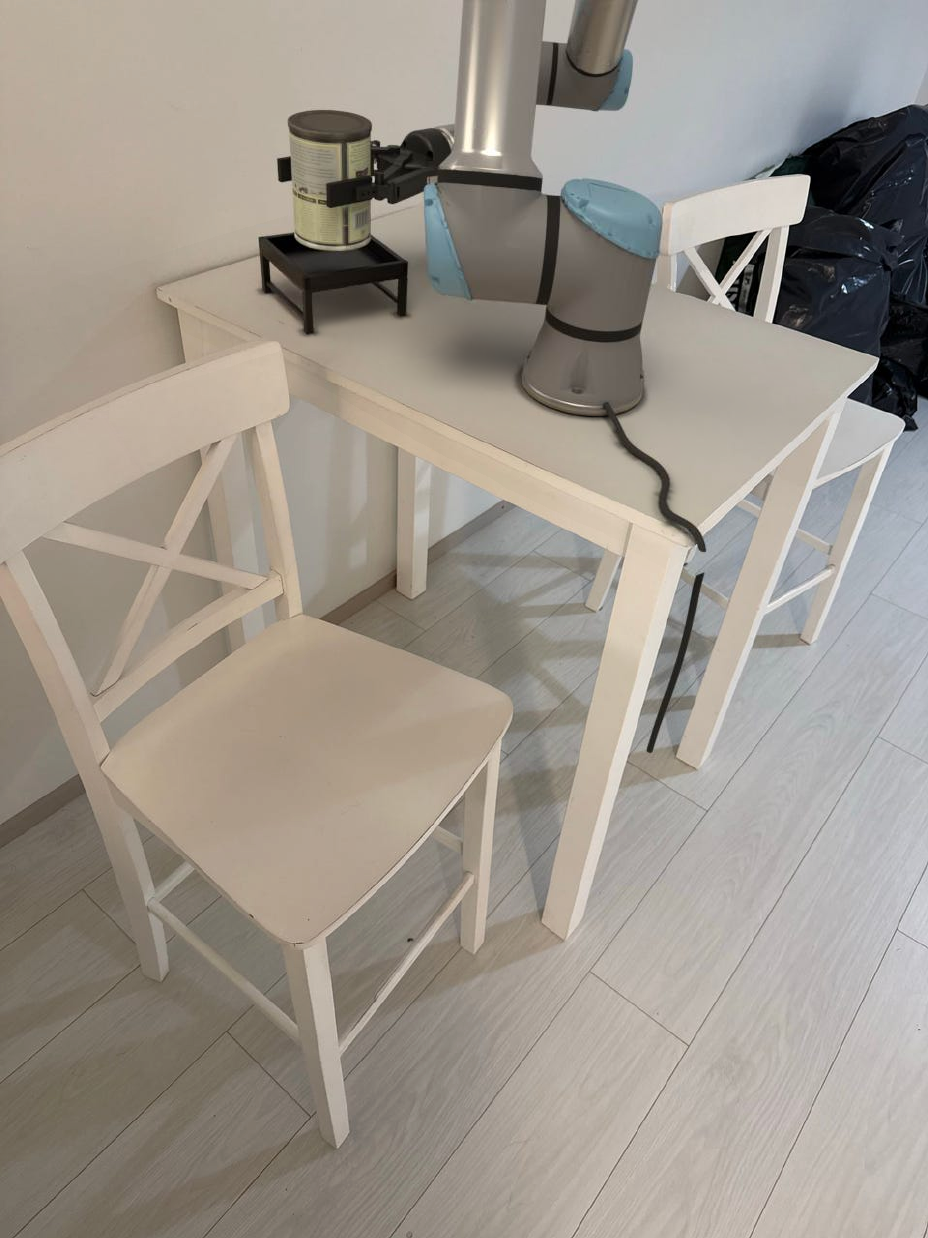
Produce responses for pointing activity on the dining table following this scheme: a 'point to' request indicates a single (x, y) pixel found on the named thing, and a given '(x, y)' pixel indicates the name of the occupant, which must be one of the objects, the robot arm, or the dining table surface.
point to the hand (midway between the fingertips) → (303, 182)
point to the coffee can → (329, 177)
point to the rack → (330, 270)
